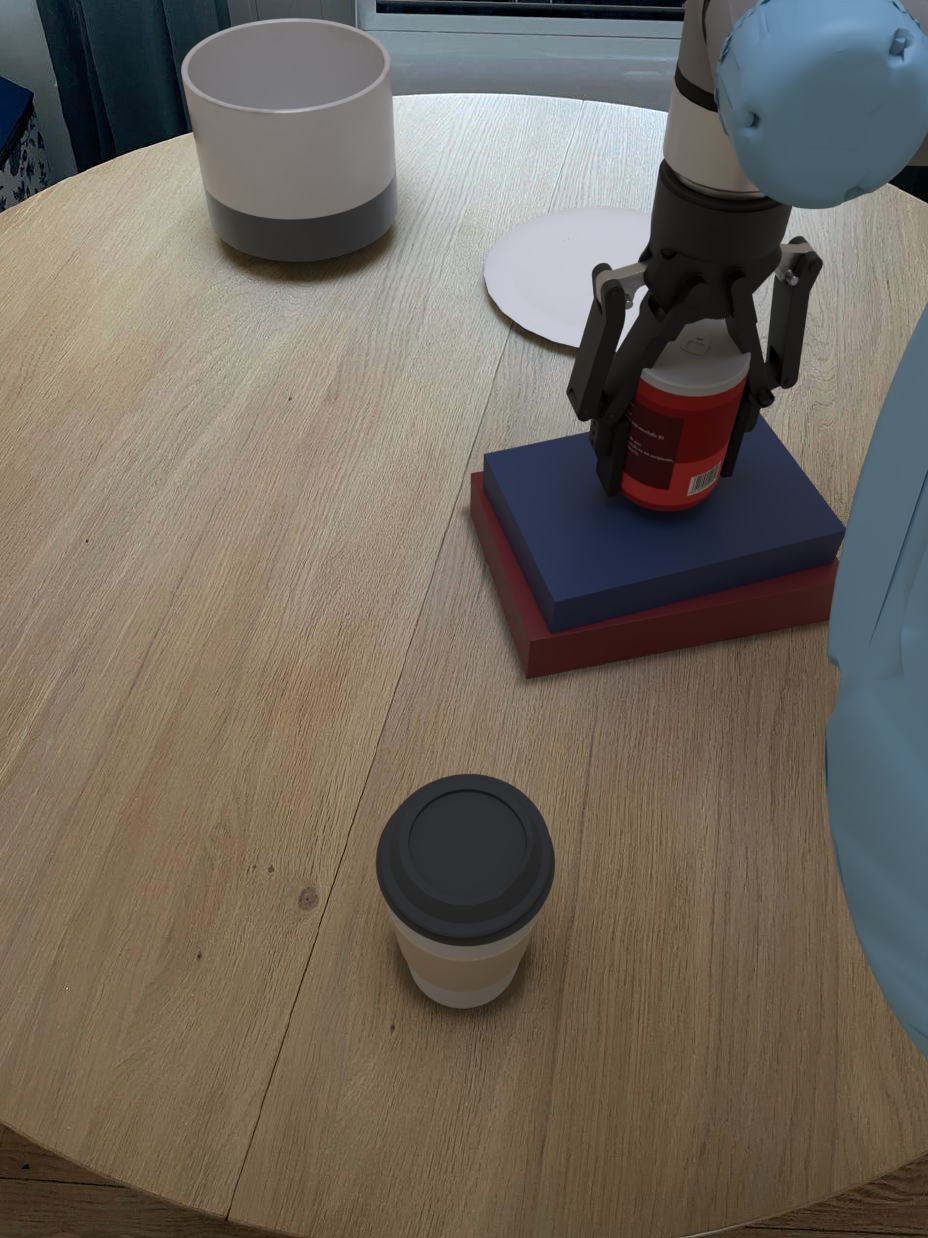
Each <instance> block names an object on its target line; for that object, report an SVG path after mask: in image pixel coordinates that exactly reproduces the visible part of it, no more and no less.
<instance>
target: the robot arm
mask: <svg viewBox="0 0 928 1238" xmlns="http://www.w3.org/2000/svg"><path fill="white" fill-rule="evenodd" d="M681 30H682V31H681V36H680V43H679V50H678V57H677V61H676V66H675V72H674V77H673V81H672V87H671V92H670V99H669V105H668V111H667V118H666V125H665V130H664V135H663V136H664V137H663V142H662V155H663V157H664V158H663V159H662V160H661V162H660V164H659V166H658V172H657V178H656V185H655V190H654V198H653V203H652V208H651V209H652V210H651V213H652V215H651V227H650V239H649V242H648V244H647V246H646V248H645V249H644V251H643V252H642V254H641V255H640V257H639V260H638V263H635V264H631V265H628V266H625V267H622V268H618V269H615V270H612V268H611V266H610V265H609V264H608V263H600V264H598V265H596V266H595V267H594V269H593V270H592V285H593V296H594V299H593V302H592V306H591V309H590V312H589V316H588V319H587V322H586V326H585V329H584V333H583V336H582V339H581V343H580V346H579V349H577V353H576V356H575V360H574V363H573V366H572V370H571V373H570V377H569V380H568V384H567V387H566V391H565V394H566V397H567V399H568V402H569V404H570V405H571V408H572V410H573V412H574V414H575V416H576V418H577V420H578V421H580V422H583V423H584V422H589V421H590V423H589V431H590V433H589V441H590V444H591V446H592V448H593V450H594V452H595V454H596V457H597V465H596V473H597V475H598V478H599V480H600V482H601V484H602V486H603V488H604V491H605V493H606V495H607V497H614V496H618V492H619V486H620V481H621V475H622V469H623V463H624V458H625V452H626V446H627V440H628V434H629V429H630V423H629V421H628V419H627V417H626V415H625V413H624V411H625V410H626V408H627V407H628V405H629V403H630V402H631V400H632V399H633V397H634V396H635V394H636V392H637V390H638V386H639V380H640V376H641V374H642V369H644V368H649V369H652V367H653V366H654V364H655V362H656V361H657V359H658V358H659V356H660V354H661V353H662V351H663V350H664V348H665V347H666V345H667V343H668V342H673V341H675V340H676V339H677V337H678V336H679V334H680V333H681V331H682V329H683V328H684V326H685V325H686V324H692V323H695V322H698V321H700V320H703V319H714V320H719V319H721V320H724V321H725V322H726V326H727V330H728V333H729V335H730V336H731V338H732V339H733V341H734V343H735V344H736V346H737V347H738V349H739V350H740V351H741V353H742V354H745V353H748V352H749V353H751V357H750V365H749V371H748V374H747V378H746V383H745V386H744V390H743V393H742V397H741V400H740V404H739V408H738V411H737V415H736V418H735V422H734V425H733V429H732V433H731V436H730V440H729V443H728V447H727V450H726V454H725V457H724V461H723V465H722V468H721V472H720V475H721V477H722V478H725V477H730V476H732V474H733V471H734V467H735V464H736V460H737V457H738V453H739V450H740V446H741V443H742V439H743V436H744V433H747V432H752V430H753V429H754V427H755V426H756V423H757V419H758V416H759V413H760V414H761V409H766V408H770V407H771V406H772V405H773V404H774V402H775V400H776V396H775V395H774V394H773V392H772V391H773V390H776V389H777V388H781V389H782V390H789V389H791V388H793V387H794V386H796V384H797V383H798V382H799V381H798V380H799V374H800V366H801V359H802V352H803V347H804V346H803V345H804V338H805V331H806V324H807V315H808V310H809V302H810V301H809V300H810V295H811V294H810V293H811V291H812V289H813V287H814V284H815V283H816V281H817V279H818V277H819V275H820V273H821V271H822V268H823V266H824V260H823V259H822V258H821V256H820V255H819V254H818V253H817V251H816V250H815V249H814V248H813V246H812V245H811V244H810V243H809V241H808V240H807V239H806V238H805V237H804V236H803V235H797V236H794V237H793V238H790V240H789V241H788V242H787V243H782V242H783V240H784V239H785V235H786V232H787V228H788V224H789V220H790V217H791V213H792V210H793V208H798V209H804V210H825V209H832V208H835V207H839V206H841V205H842V204H844V203H846V202H849V201H852V200H854V199H857V198H859V197H862V196H865V195H867V194H869V195H870V194H872V193H874V192H876V191H877V190H879V189H880V188H882V187H884V186H885V185H887V184H888V183H889V182H890V181H892V180H893V179H894V178H895V177H896V176H897V175H899V174H900V173H901V172H902V171H903V169H904V168H905V167H906V166H910V167H911V166H912V167H915V166H916V167H928V0H686V3H685V10H684V18H683V24H682V29H681ZM773 273H774V277H773V285H772V295H771V304H770V313H769V314H770V315H769V323H768V324H769V325H768V333H767V344H766V353H765V359H764V354H763V350H762V344H761V340H760V336H759V332H758V325H757V324H758V323H759V319H758V315H757V311H756V306H755V302H754V298H753V297H754V296H753V295H754V293H755V292H756V291H757V290H758V289H759V288H760V287H761V286H762V285H763V284H764V283H765V282H766V281H767V279H769V278H770V276H771V275H772V274H773ZM644 285H646V286H647V288H648V291H647V293H646V294H645V296H644V298H643V299H642V301H641V303H640V306H639V315H638V317H637V319H636V320H635V322H634V324H633V325H632V327H631V329H630V330H629V332H628V334H627V336H626V337H625V339H624V341H623V342H622V344H621V346H620V347H619V349H618V351H617V352H616V354H615V351H616V348H617V345H618V342H619V339H620V336H621V333H622V330H623V327H624V323H625V316H626V310H627V309H630V308H632V307H633V299H634V296H635V293H636V291H637V290H638V289H639V288H640V287H642V286H644ZM876 419H877V420H876V422H875V424H874V425H875V426H874V429H873V432H872V435H871V439H870V441H869V445H868V448H867V451H866V454H865V456H864V460H863V463H862V466H861V469H860V472H859V474H858V479H857V482H856V486H855V490H854V493H853V497H852V501H851V505H850V508H849V513H848V518H847V521H846V526H845V528H846V531H845V536H844V539H843V541H842V545H841V546H842V547H841V551H840V556H839V565H838V570H837V574H836V579H835V585H834V591H833V598H832V604H831V611H830V619H828V620H829V621H828V629H827V638H826V639H827V640H826V647H825V649H826V650H825V655H826V659H827V660H828V662H829V663H830V664H832V665H833V666H835V667H836V668H838V669H839V672H840V675H839V682H838V689H837V696H836V698H835V703H834V707H833V710H832V712H831V714H830V716H829V717H828V720H827V722H826V723H825V727H824V748H823V774H824V783H825V790H826V792H825V793H826V806H827V813H828V814H827V815H828V822H829V829H830V836H831V837H830V838H831V842H832V848H833V853H834V858H835V864H836V870H837V873H838V876H839V881H840V884H841V887H842V891H843V895H844V898H845V902H846V905H847V909H848V913H849V915H850V918H851V922H852V925H853V928H854V931H855V935H856V937H857V941H858V943H859V946H860V948H861V950H862V953H863V955H864V957H865V959H866V962H867V964H868V966H869V969H870V971H871V973H872V975H873V978H874V979H875V982H876V984H877V985H878V987H879V990H880V992H881V993H882V995H883V997H884V999H885V1001H886V1003H887V1005H888V1007H889V1008H890V1010H891V1011H892V1013H893V1015H894V1016H895V1018H896V1019H897V1021H898V1022H899V1024H900V1025H901V1027H902V1029H903V1031H904V1032H905V1033H906V1035H907V1037H908V1038H909V1040H910V1041H911V1042H912V1043H913V1044H914V1047H916V1048H917V1050H918V1051H919V1052H920V1054H922V1055H923V1057H924V1058H925V1059H926V1060H927V1061H928V301H927V302H926V304H925V306H924V308H923V310H922V313H920V315H919V319H918V321H917V322H916V325H915V327H914V329H913V331H912V333H911V335H910V338H909V340H908V342H907V344H906V346H905V348H904V351H903V353H902V356H901V358H900V361H899V363H898V365H897V367H896V370H895V373H894V375H893V377H892V379H891V383H890V385H889V387H888V390H887V392H886V394H885V397H884V401H883V402H882V405H881V408H880V411H879V414H878V417H877V418H876Z"/></svg>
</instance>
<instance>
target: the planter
mask: <svg viewBox="0 0 928 1238" xmlns="http://www.w3.org/2000/svg"><path fill="white" fill-rule="evenodd" d="M180 73H181V80H182V85H183V90H184V94H185V100H186V104H187V110H188V113H189V114H188V115H189V120H190V125H191V129H192V135H193V139H194V144H195V149H196V154H197V160H198V165H199V169H200V175H201V179H202V186H203V191H204V195H205V201H206V206H207V209H208V210H207V211H208V217H209V220H210V224H211V226H212V228H213V230H214V232H215V233H216V234H217V236H218V237H219V238H220V239H221V240H222V241H223V242H224V243H226V244H227V245H229V246H230V247H232V248H234V249H236V250H238V251H240V252H242V253H244V254H246V255H247V254H248V255H250V256H254V257H257V258H261V259H265V260H270V261H280V262H293V263H294V262H313V261H315V262H316V261H321V260H322V261H323V260H327V259H332V258H337V257H342V256H344V255H347V254H351V253H354V252H356V251H359V250H360V249H363V248H365V247H367V246H369V245H370V244H372V243H374V242H376V241H377V240H378V239H379V238H381V237H383V235H384V234H385V233H386V232H387V231H389V229H390V228H391V226H392V225H393V223H394V222H395V219H396V217H397V214H398V185H397V184H398V183H397V164H396V162H397V161H396V141H395V139H396V137H395V117H394V95H393V94H394V93H393V92H394V91H393V75H392V74H393V73H392V59H391V55H390V52H389V50H388V49H387V47H386V46H385V45H384V44H383V43H382V42H381V41H380V40H379V39H378V38H376V37H375V36H374V35H372V34H370V33H369V32H366V31H365V30H362V29H361V28H358V27H355V26H352V25H349V24H345V23H341V22H337V21H331V20H326V19H320V18H319V19H318V18H317V19H316V18H306V17H305V18H301V17H289V18H288V17H287V18H271V19H263V20H258V21H252V22H246V23H243V24H239V25H238V24H237V25H235V26H231V27H228V28H226V29H223V30H220V31H218V32H216V33H213V34H211V35H210V36H207V37H206V38H204V39H203V40H201V41H199V42H198V43H197V44H195V45H194V46H193V47H192V48H191V49H190V50H189V51H188V52H187V54H186V55H185V57H184V59H183V60H182V63H181V70H180Z"/></svg>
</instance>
